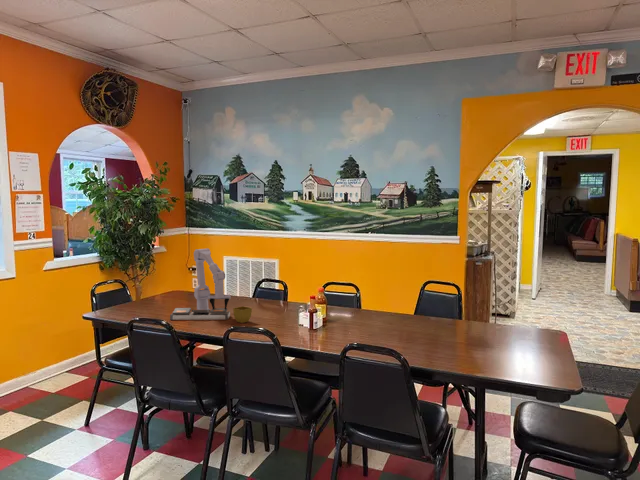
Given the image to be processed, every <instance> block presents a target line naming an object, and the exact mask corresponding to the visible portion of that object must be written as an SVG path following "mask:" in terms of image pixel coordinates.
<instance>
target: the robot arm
mask: <svg viewBox="0 0 640 480" xmlns="http://www.w3.org/2000/svg"><path fill="white" fill-rule="evenodd" d="M193 251H194V252H193V259H194V260H193V261H194V262H195V268H196V279H197V286H196V287H195V288H194V290H193V291H194V292H193V296H194V298H195V299H196V310H209V311H211V309H212V308H213V309H215V308H216V307H215V303H216V302H215V300H224V308H225V309H226V308H227V307H228V303H229V300H231V299H232V298H231V297H232V296H231V295H224V294H225V293H224V292H225V287H224V285H225V284H224V282H225V281H224V280H225V278H226V273H225V271H223V270H221V268H220V267H219V266H218V264H217V263H215V262H214V260H213V258H212V256H211V254H212V253H211V250H210V248H208V247H207V248H199V249H194V250H193ZM205 262H206V263H207V265H208V266H209V267H208V269H209V271H210V272H211V275H212V280H213V284H214V295H211V291H210V288H209V286H208V285H206V276H205V267H204V265H205V264H204V263H205ZM209 303H210V305H211V309H210V308H209Z"/></svg>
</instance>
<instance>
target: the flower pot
mask: <svg viewBox="0 0 640 480" xmlns="http://www.w3.org/2000/svg"><path fill="white" fill-rule="evenodd" d="M232 310H233V316H234V317H233V318H234V319H235V320H236V322H237V323H241V324H244V323H248V322H249V321H250V319H251V317H252V311H253V308H252V307H250V306H245V305H243V306H237V307H233V308H232Z"/></svg>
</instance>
